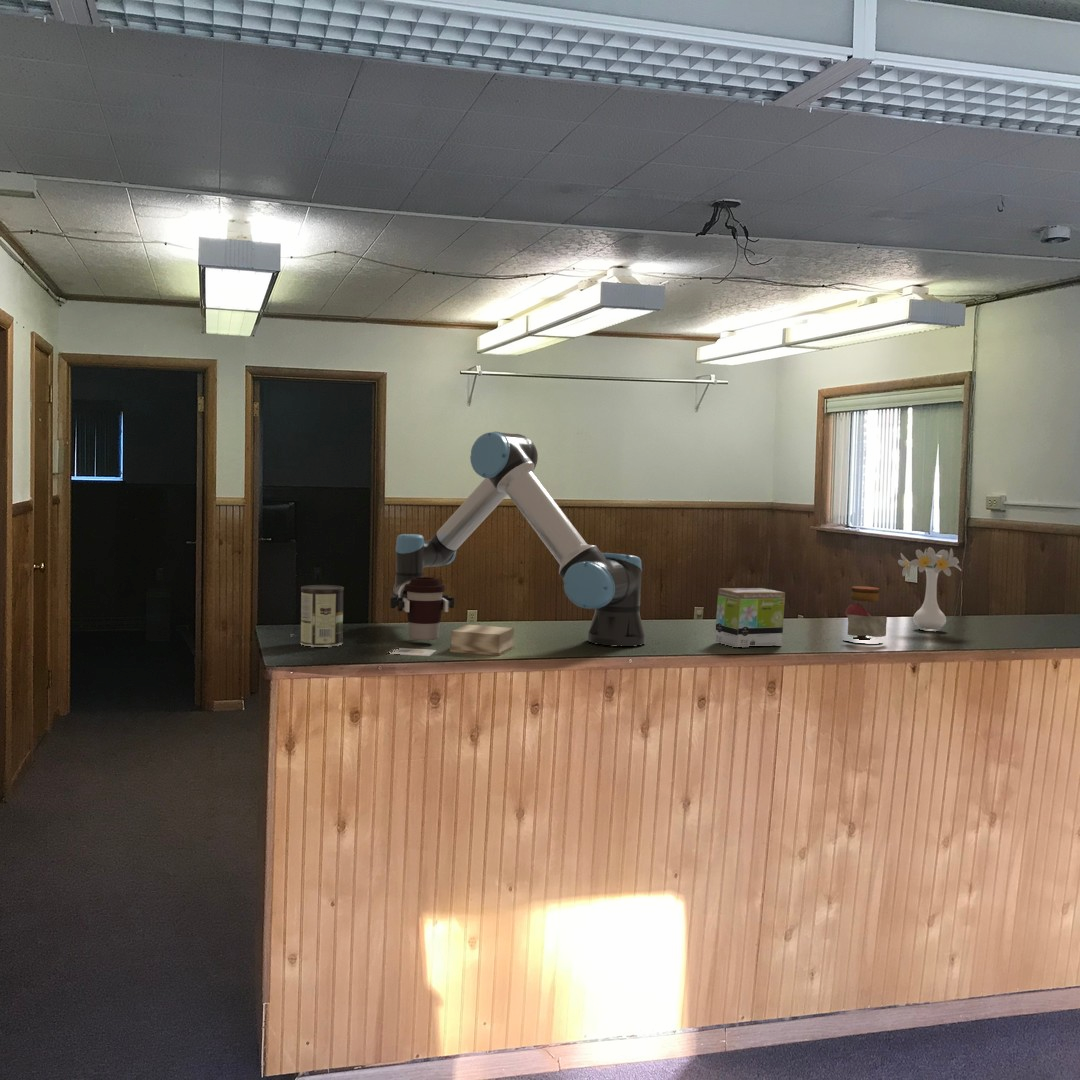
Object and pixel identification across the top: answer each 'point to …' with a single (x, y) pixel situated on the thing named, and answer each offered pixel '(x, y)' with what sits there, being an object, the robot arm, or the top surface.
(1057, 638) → the top surface
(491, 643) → the tan flat block
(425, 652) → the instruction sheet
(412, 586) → the coffee cup
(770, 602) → the tea box
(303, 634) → the coffee can
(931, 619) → the flower vase
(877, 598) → the brown red grey stack
